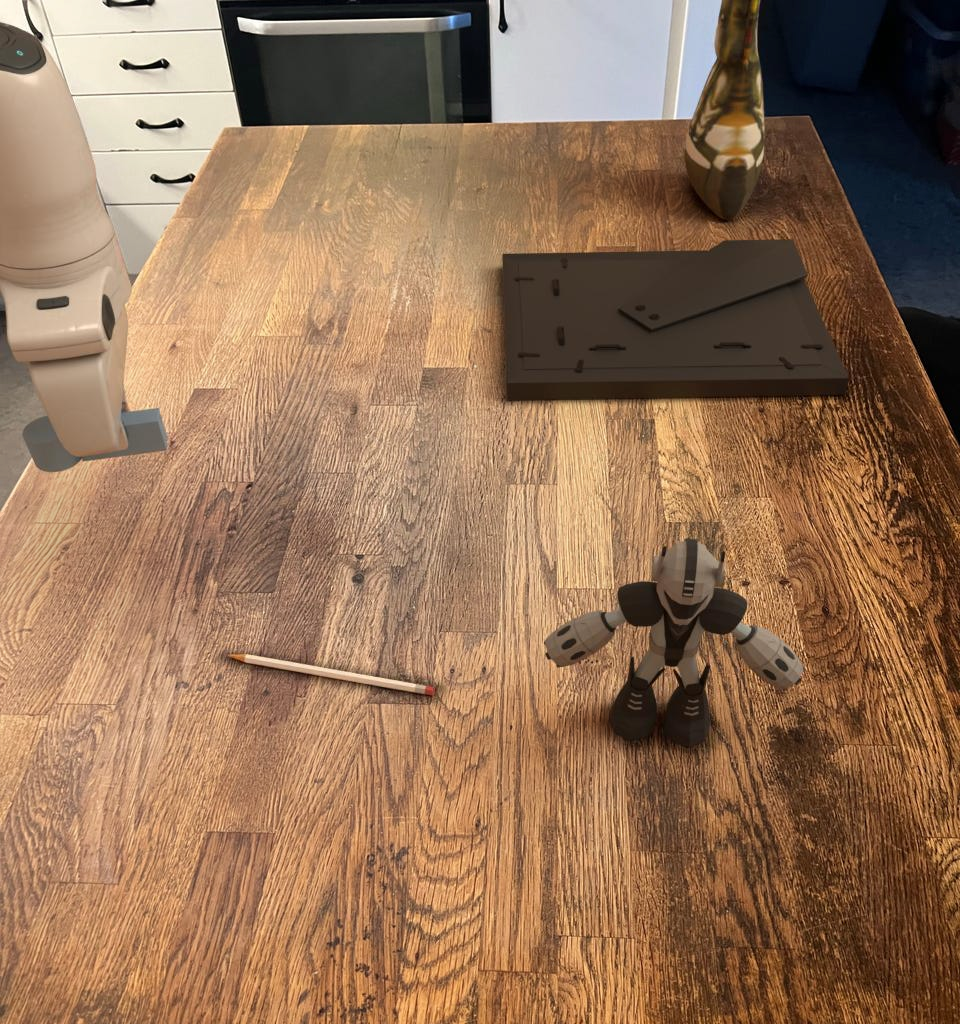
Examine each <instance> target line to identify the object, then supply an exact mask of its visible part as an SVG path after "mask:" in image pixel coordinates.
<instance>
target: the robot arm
mask: <svg viewBox="0 0 960 1024" xmlns="http://www.w3.org/2000/svg"><path fill="white" fill-rule="evenodd" d="M74 100H75V99H74V98H73V96H72V93H71V91H70V89H69V86H68V84H67V82H66V79H65V77H64V76H63V74H62V72H61V70H60V68H59V66H58V65H57V63H56V61H55V59H54V58H53V56H52V55H51V53H50V52H49V50H48V49H47V47H46V46H45V45H44V43H43V42H42V41H41V40H40V39H39V38H38V37H37V36H35V35H34V34H32V33H30V32H29V31H26V30H24V29H22V28H19V27H18V26H15V25H12V24H9V23H5V22H2V21H0V294H1V296H2V298H3V301H4V306H5V307H4V313H5V324H6V325H5V327H6V339H7V343H8V346H9V348H10V350H11V353H12V355H13V357H14V359H15V361H16V362H18V363H27V367H28V371H29V375H30V379H31V381H32V384H33V387H34V389H35V392H36V394H37V396H38V397H37V398H38V399H39V401H40V403H41V405H42V408H43V410H44V412H45V414H46V416H48V418H49V420H50V422H51V424H52V426H53V428H54V430H55V432H56V434H57V436H58V438H59V440H60V442H61V444H62V445H63V447H64V448H65V449H66V450H67V451H68V452H69V453H70V454H72V455H74V456H88V455H96V454H103V453H109V452H113V451H119V450H125V449H127V447H128V438H129V435H128V432H127V430H126V426H125V423H124V421H123V422H121V413H124V412H130V411H131V410H130V406H129V404H128V401H127V396H126V387H125V382H124V381H125V370H126V359H127V346H128V336H129V335H128V334H129V317H128V312H127V308H126V306H125V305H126V304H127V303H128V302H129V300H130V298H131V296H132V291H133V288H132V284H131V281H130V276H129V273H128V270H127V267H126V264H125V261H124V257H123V254H122V250H121V247H120V244H119V240H118V236H117V233H116V231H115V227H114V224H113V222H112V220H111V218H110V216H109V213H107V211H106V210H105V208H104V206H103V205H102V202H101V200H100V197H99V194H98V189H97V188H98V187H97V170H96V169H97V168H96V164H95V160H94V157H93V154H92V150H91V146H90V144H89V141H88V137H87V133H86V132H85V131H86V130H85V128H84V125H83V123H82V120H81V116H80V113H79V111H78V109H77V106H76V103H75V101H74Z"/></svg>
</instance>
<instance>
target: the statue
mask: <svg viewBox="0 0 960 1024" xmlns="http://www.w3.org/2000/svg"><path fill="white" fill-rule="evenodd" d="M760 5H761V0H721V4H720V8H719V13H718V18H717V24H716V29H715V36H714V43H713V46H714V54H715V56H716V60H715V62H714V63H713V65H712V66H711V69H710V70H709V73H708V75H707V78H706V80H705V83H704V86H703V89H702V90H701V94H700V96H699V99H698V102H697V105H696V108H695V110H694V112H693V115H692V118H691V121H690V123H689V128H688V129H687V130H688V131H687V134H686V138H685V144H684V145H685V146H684V166H685V169H686V174H687V177H688V179H689V182H690V184H691V186H692V188H693V189H694V191H695V192H696V194H697V195H698V197H699V198H700V200H701V201H702V202H703V203H704V204H705V205H706V206H707V207H708V208H709V210H710V211H712V212H713V213H714V214H715V215H716V216H717V217H718V218H720V219H722V220H725V221H731V220H733V219H735V218H736V217H737V216H738V215H739V213H740V212H741V211H742V210H743V209H744V208H745V206H746V205H747V203H748V201H749V200H750V199H751V196H752V194H753V192H754V190H755V188H756V186H757V183H758V180H759V177H760V174H761V170H762V166H763V160H764V153H765V140H766V139H765V137H766V133H765V102H764V83H763V82H764V81H763V75H762V74H763V73H762V67H761V62H760V56H759V52H758V26H759V14H760V13H759V12H760Z"/></svg>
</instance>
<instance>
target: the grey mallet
mask: <svg viewBox="0 0 960 1024" xmlns="http://www.w3.org/2000/svg"><path fill="white" fill-rule="evenodd" d="M123 421H124V423H125V426H126V430H127V432H128V435H129V438H128V447H127V449H125V450H119V451H113V452H109V453H103V454H96V455H88V456H74V455H72V454H70V453H69V452H68V451H67V450H66V449H65V448H64V447H63V445H62V444H61V442H60V440H59V438H58V436H57V434H56V432H55V430H54V428H53V426H52V424H51V422H50V420H49V418H48V416H47V415H44V416H40V417H38V418H36V419H34V420H32V421H30V422H29V423H27V424H26V425H25V427H24V428H23V429H22V438H23V440H24V442H25V445H26V447H27V449H28V452H29V454H30V456H31V458H32V461H33V463H34V465H35V467H36V468H37V469H38V470H40V471H41V472H45V473H58V472H64V471H67V470H69V469H72V468H73V467H75V466H77V465H78V464H79V463H80V462H81V461H82V462H91V461H99V460H105V459H114V458H121V457H127V456H137V455H142V454H150V453H151V454H152V453H158V452H166V451H168V434H167V430H166V428H165V424H164V421H163V418H162V414H161V410H160V408H159V407H154V408H145V409H139V410H138V409H137V410H130V412H124V413H121V422H123Z"/></svg>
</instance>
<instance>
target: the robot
mask: <svg viewBox="0 0 960 1024" xmlns="http://www.w3.org/2000/svg"><path fill="white" fill-rule="evenodd" d="M725 559H726V551H724V550H722V551H721V554H720V558H719V560H717V559H716V558H715V557H714V556H713V554H712V553H711V552H710V551H709V550H708V548H707V546H706V545H705V544H703V543H701V542H699V541H698V539H697V538H687V537H686V538H685V539H684V540H681V541H677V542H675V544H674V545H673V546H672V547H670V548H669V549H668V550H667V546H666V545H663V546H662V547H661V551H660V554H659V555H653V557H652V563H651V564H652V566H651V572H650V573H651V575H650V581H647V580H646V581H645V580H642V581H635V582H631V583H626V584H624V585H621V586H620V587H618V589H617V593H616V594H617V601H618V602H617V603H618V605H619V608H617V609H614V610H611V611H604V610H602V609H600V610H593V611H587V612H585V613H584V614H582V615H579V616H576V617H574V618H572V619H571V620H569V621H567V622H565V623H564V624H562V625H561V626H560V627H558V628H557V629H555V630H554V631H553V632H551V633H550V634H549V635H548V636H547V637H546V638H545V640H544V641H543V644H544V646H545V649H546V652H545V654H544V655H545V658H546V659H547V661H549V660H551V661H552V662H553V663H554V664H555V666H556V668H565V667H569V666H573V665H575V664H578V663H579V662H581V661H583V660H585V659H587V658H589V657H592V655H594V654H596V653H597V652H599V651H600V650H601V649H602V648H604V647H605V646H606V645H608V644H609V642H610V641H611V640H612V638H614V636H615V635H616V629H617V627H618V626H620V625H622V624H625V623H628V624H629V625H630V626H632V627H638V628H647V627H650V631H649V636H648V649H647V650H646V652H645V653H644V655H643V657H642V659H641V660H640V662H639V664H638V665H637V667H636V670H635V657H634V656H631V657H629V664H628V665H629V666H628V672H627V681H626V682H625V683H624V685H623V686H622V688H621V689H620V690H619V692H618V693H617V695H616V697H615V700H614V702H613V705H612V708H611V712H610V717H609V724H610V727H611V730H612V732H614V733H615V734H617V735H618V736H620V737H621V738H623V739H624V740H626V741H627V742H630V741H631V742H633V741H639V740H646V739H647V738H649V736H651V735H652V734H653V733H655V731H656V727H657V721H658V707H657V700H656V696H655V691H654V686H653V685H654V683H656V681H657V680H658V679H659V678H660V677H661V675H662V674H663V673H664V672H665V670H666V667H669V668H673V669H672V672H673V674H674V676H675V679H676V682H677V684H678V685H677V687H676V688H675V689H674V690H673V692H672V693H671V696H670V697H669V699H668V702H667V705H666V708H665V711H664V716H663V719H662V723H661V727H662V733H663V734H664V735H665V736H666V737H667V739H669V740H670V742H672V743H674V744H678V745H681V746H683V747H686V748H688V749H689V748H692V747H694V746H697V745H699V744H702V743H704V742H705V741H706V740H707V737H708V735H709V733H710V730H711V714H710V713H711V712H710V702H709V699H708V694H707V692H706V691H707V690H706V686H707V682H708V678H709V673H710V669H711V665H710V664H708V663H706V664H705V666H704V668H703V670H702V672H701V675H700V672H699V666H698V659H697V654H698V652H699V648H700V644H701V639H702V637H703V634H704V632H708V633H710V634H714V635H719V636H720V635H721V636H725V635H729V634H731V635H732V636H733V637H734V638H735V641H734V642H735V647H736V650H737V652H738V655H739V658H741V659H742V660H743V662H744V664H745V665H746V666H747V667H748V668H749V669H750V670H751V671H752V672H753V673H754V674H755V675H756V676H757V677H759V678H760V679H761V680H762V681H763V682H765V683H767V684H768V685H770V686H772V687H774V688H776V689H777V690H780V691H786V690H787V689H789V688H790V687H791V686H793V685H795V686H798V685H799V684H800V683H801V682H802V678H801V677H802V674H803V672H804V666H803V662H802V661H801V659H800V658H799V656H798V655H797V654H796V653H795V652H794V651H793V650H792V648H791V647H790V646H789V645H787V643H786V642H785V641H784V640H782V638H781V637H779V636H778V635H776V634H774V633H773V632H771V630H769V629H767V628H764V627H761V626H759V625H756V624H751V625H748V624H746V623H743V622H742V621H743V619H744V617H745V614H746V612H747V609H748V606H749V605H748V600H747V599H746V598H745V597H744V596H743V595H742V594H739V593H737V592H735V591H732V590H729V589H727V588H722V587H723V584H724V579H725V569H726V568H725V565H726V564H725ZM663 666H666V667H663ZM675 667H676V668H678V671H677V670H676V668H675ZM678 672H679V673H678Z"/></svg>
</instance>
